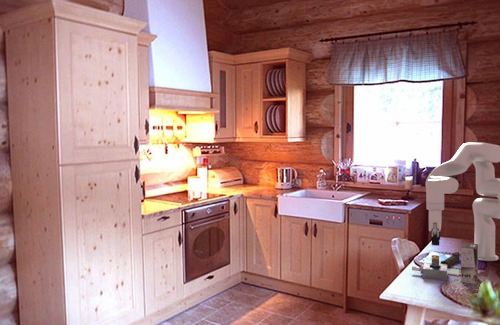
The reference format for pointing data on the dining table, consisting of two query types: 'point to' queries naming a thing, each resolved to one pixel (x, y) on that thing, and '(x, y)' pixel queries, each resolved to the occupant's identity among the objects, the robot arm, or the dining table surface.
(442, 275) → the chuck
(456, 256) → the hand tool
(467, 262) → the coffee box
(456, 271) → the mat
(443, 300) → the dining table surface
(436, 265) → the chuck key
